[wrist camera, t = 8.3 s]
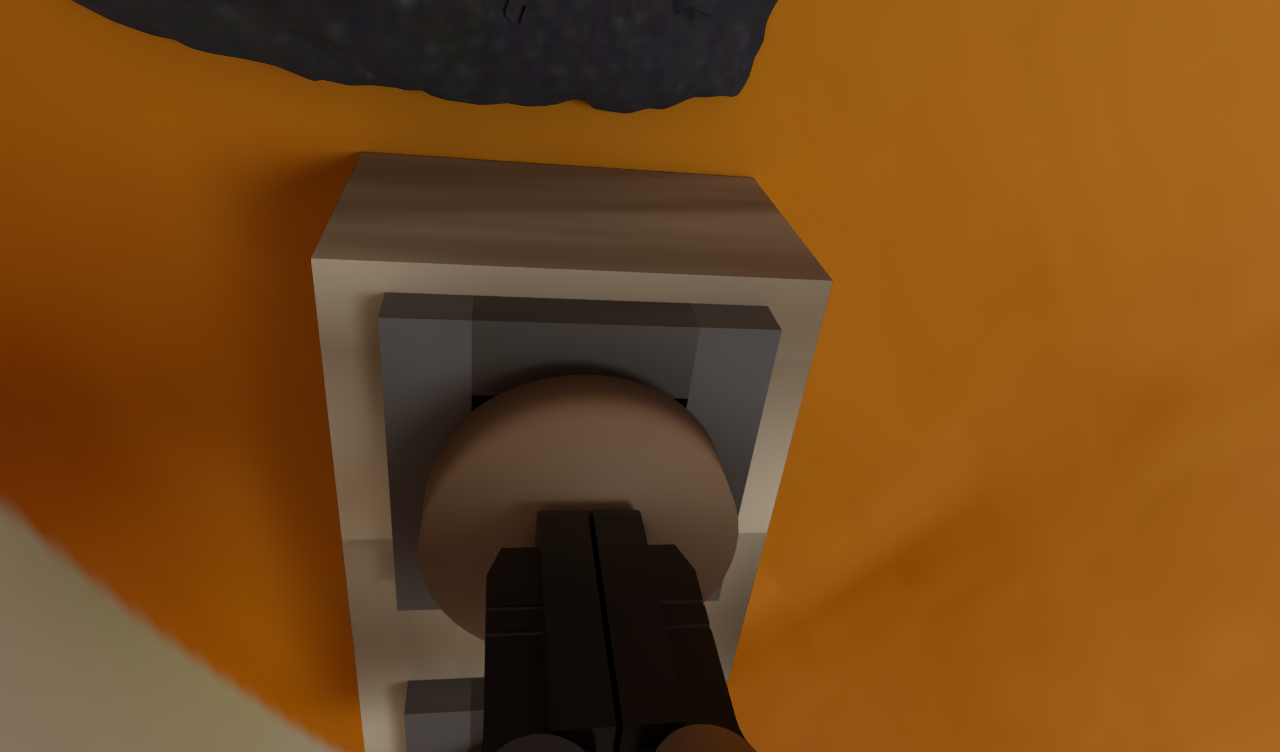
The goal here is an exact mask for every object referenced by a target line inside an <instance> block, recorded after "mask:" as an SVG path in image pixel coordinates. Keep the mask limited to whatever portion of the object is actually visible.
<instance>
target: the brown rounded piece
mask: <svg viewBox="0 0 1280 752" xmlns="http://www.w3.org/2000/svg"><path fill="white" fill-rule="evenodd" d="M591 510H639V511H640V513H641V516H642V520H643V524H644V529H645V534H646V538H647V543H648V545H662V544H675V545H676V547H677V548H678V549H679V550H680V552H681V553H682V554H683V555H684V557H685V558H686V559H687V560H688V561H689V563H690V564H691V565H692V566H693V568H694V569H695V571H696V575H697V578H698V582H699V586H700V589H701V593H702V597H703V604H704V603H705V602H706V601H707V599H708V598H709V597H710V596H711V595H712V594H713V593H714V591H715V590H716V589H717V587H718V586H719V585H720V583H721V582H722V580H723V579H724V577H725V575H726V573H727V571H728V569H729V567H730V565H731V563H732V560H733V557H734V554H735V551H736V547H737V540H738V534H739V533H738V515H737V510H736V505H735V502H734V499H733V496H732V494H731V491H730V488H729V485H728V482H727V480H726V477H725V474H724V471H723V468H722V466H721V463H720V460H719V457H718V454H717V452H716V449H715V447H714V444H713V442H712V440H711V438H710V436H709V435H708V433H707V431H706V430H705V428H704V427H703V425H702V424H701V423H700V422H699V421H698V420H697V418H696V417H695V416H694V415H693V414H692V413H691V412H690V411H688V410H687V409H686V408H685V407H684V406H683V405H682V404H680V403H679V402H677V401H676V400H674V399H673V398H671V397H669V396H668V395H666V394H665V393H662V392H660V391H658V390H656V389H654V388H652V387H649V386H647V385H644V384H641V383H638V382H634V381H631V380H627V379H622V378H617V377H612V376H602V375H589V374H587V375H565V376H558V377H551V378H545V379H541V380H538V381H534V382H530V383H526V384H523V385H521V386H518V387H515V388H513V389H510V390H508V391H505V392H503V393H501V394H499V395H497V396H492V399H490V400H488V401H486V402H485V403H483V404H482V405H481V406H479V407H478V408H476V409H475V410H473V411H472V412H471V413H469V414H468V415H467V416H466V417H465V418H464V419H463V420H462V421H461V422H459V423H458V424H457V425H456V426H455V428H454V429H453V430H452V431H451V432H450V433H449V435H448V436H447V437H446V438H445V440H444V441H443V443H442V444H441V446H440V448H439V449H438V451H437V453H436V454H435V457H434V459H433V462H432V464H431V466H430V469H429V473H428V477H427V482H426V487H425V495H424V503H423V512H422V520H421V528H420V536H419V553H418V556H419V563H420V570H421V573H422V576H423V579H424V582H425V585H426V587H427V589H428V591H429V593H430V595H431V596H432V598H433V600H434V601H435V602H436V604H437V605H438V606H439V607H440V609H441V610H442V611H443V612H444V613H445V614H446V615H447V616H448V617H449V618H450V619H451V620H452V621H453V622H454V623H456V624H457V625H458V626H460V627H461V628H463V629H464V630H465V631H467V632H468V633H470V634H472V635H474V636H476V637H478V638H479V639H481V640H483V641H485V615H486V575H487V573H488V571H489V569H490V568H491V566H492V564H493V562H494V560H495V559H496V557H497V555H498V553H499V552H500V550H501V548H519V547H535V536H536V520H537V512H538V511H587V513H588V518H589V513H590V511H591Z"/></svg>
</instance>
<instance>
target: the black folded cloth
mask: <svg viewBox="0 0 1280 752" xmlns="http://www.w3.org/2000/svg"><path fill="white" fill-rule="evenodd" d="M72 1H74V2H76V3H78V4H80V5H82V6H84V7H86V8H88V9H90V10H92V11H94V12H95V13H97V14H99V15H101V16H103V17H105V18H108V19H110V20H112V21H114V22H117V23H119V24H122V25H125V26H128V27H130V28H133V29H136V30H139V31H142V32H145V33H148V34H151V35H155V36H159V37H164V38H168V39H174V40H176V41H178V42H180V43H182V44H184V45H186V46H188V47H191V48H193V49H196V50H200V51H204V52H208V53H213V54H219V55H225V56H230V57H236V58H242V59H247V60H252V61H257V62H262V63H266V64H270V65H274V66H277V67H280V68H283V69H285V70H288V71H290V72H293V73H295V74H297V75H300V76H302V77H304V78H307V79H310V80H313V81H318V80H326V81H331V82H336V83H340V84H345V85H354V86H355V85H375V86H385V87H397V88H399V89H403V90H422V91H424V92H426V93H428V94H430V95H432V96H435V97H438V98H441V99H445V100H450V101H457V102H464V103H470V104H477V105H489V104H502V103H510V104H516V105H521V106H548V105H554V104H559V103H562V102H565V101H569V100H575V99H586V100H587V101H588V103H589V104H590V105H591V106H592V107H593V108H595V109H599V110H604V111H611V112H618V113H632V112H636V111H639V110H643V109H648V108H652V109H666V108H668V107H671V106H674V105H676V104H678V103H680V102H682V101H685V100H687V99H690V98H693V97H713V96H729V97H733V96H736V95H738V94H739V93H740V91H741V90H742V88H743V86H744V85H745V83H746V81H747V79H748V77H749V75H750V72H751V69H752V65H753V61H754V58H755V56H756V54H757V53H758V51H759V49H760V47H761V45H762V42H763V40H764V34H765V28H766V23H767V20H768V18H769V16H770V14H771V12H772V10H773V8H774V6H775V4H776V3H777V1H778V0H72Z"/></svg>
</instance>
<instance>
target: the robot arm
mask: <svg viewBox="0 0 1280 752" xmlns="http://www.w3.org/2000/svg"><path fill="white" fill-rule="evenodd" d="M480 752H757V751H756V750H755V749H754V748H753V747H752V746H751V745H750V744H749V743H748V742H747V740H746V739H745V738H744V736H743V734H742V732H741V730H740V728H739V726H738V723H737V720H736V717H735V713H734V710H733V706H732V703H731V699H730V695H729V692H728V688H727V684H726V681H725V677H724V673H723V670H722V666H721V662H720V659H719V655H718V651H717V648H716V644H715V640H714V637H713V633H712V629H710V622H709V618H708V615H707V611H706V608H705V605H703V597H702V593H701V589H700V586H699V582H698V578H697V575H696V571H695V569H694V568H693V566H692V565H691V564H690V563H689V561H688V560H687V559H686V558H685V557H684V555H683V554H682V553H681V552H680V550H679V549H678V548H677V547H676V545H675V544H662V545H648V543H647V538H646V534H645V529H644V524H643V520H642V516H641V513H640V511H639V510H591V511H590V513H589V518H588V513H587V511H538V512H537V520H536V536H535V547H519V548H501V550H500V552H499V553H498V555H497V557H496V559H495V560H494V562H493V564H492V566H491V568H490V569H489V571H488V573H487V575H486V615H485V666H484V718H483V741H482V747H481V750H480Z"/></svg>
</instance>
